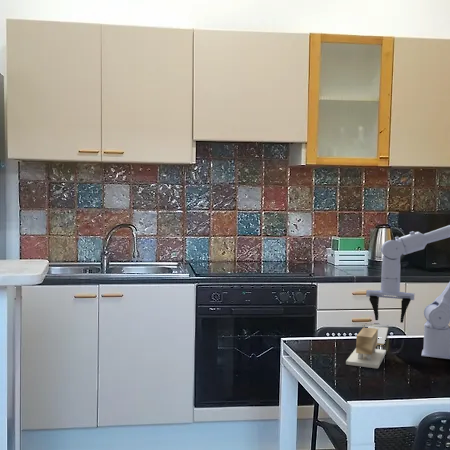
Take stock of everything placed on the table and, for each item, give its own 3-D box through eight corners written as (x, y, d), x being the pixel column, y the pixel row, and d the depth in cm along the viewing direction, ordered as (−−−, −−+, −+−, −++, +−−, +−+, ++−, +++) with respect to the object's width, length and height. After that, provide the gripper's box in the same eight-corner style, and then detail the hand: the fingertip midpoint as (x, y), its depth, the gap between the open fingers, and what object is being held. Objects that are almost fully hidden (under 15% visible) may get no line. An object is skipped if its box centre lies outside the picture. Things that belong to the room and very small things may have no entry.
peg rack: (385, 353, 178) (386, 343, 178) (378, 368, 159) (378, 357, 159) (356, 349, 181) (357, 340, 181) (345, 364, 163) (346, 354, 163)
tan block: (377, 344, 176) (377, 328, 176) (371, 354, 163) (372, 337, 163) (362, 343, 178) (363, 327, 177) (356, 352, 165) (356, 335, 164)
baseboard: (353, 345, 191) (384, 348, 187) (353, 336, 191) (384, 339, 187) (361, 328, 219) (388, 331, 216) (361, 321, 219) (388, 324, 216)
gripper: (365, 277, 178) (364, 320, 178) (414, 280, 173) (412, 325, 173) (368, 275, 185) (367, 317, 185) (415, 278, 179) (413, 321, 180)
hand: (389, 320), depth 179 cm, fingers open, 7 cm apart
